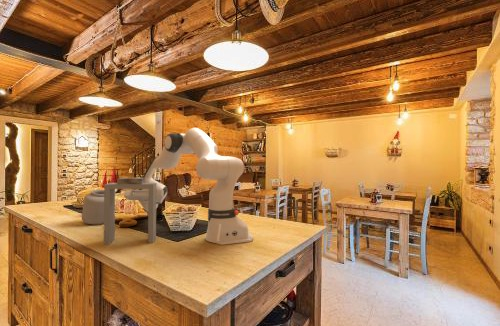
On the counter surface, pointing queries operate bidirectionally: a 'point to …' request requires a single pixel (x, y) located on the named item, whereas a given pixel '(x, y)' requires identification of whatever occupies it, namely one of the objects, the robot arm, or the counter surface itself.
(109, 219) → the stand
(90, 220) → the jar
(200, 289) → the counter surface
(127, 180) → the hook tool
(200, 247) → the counter surface
